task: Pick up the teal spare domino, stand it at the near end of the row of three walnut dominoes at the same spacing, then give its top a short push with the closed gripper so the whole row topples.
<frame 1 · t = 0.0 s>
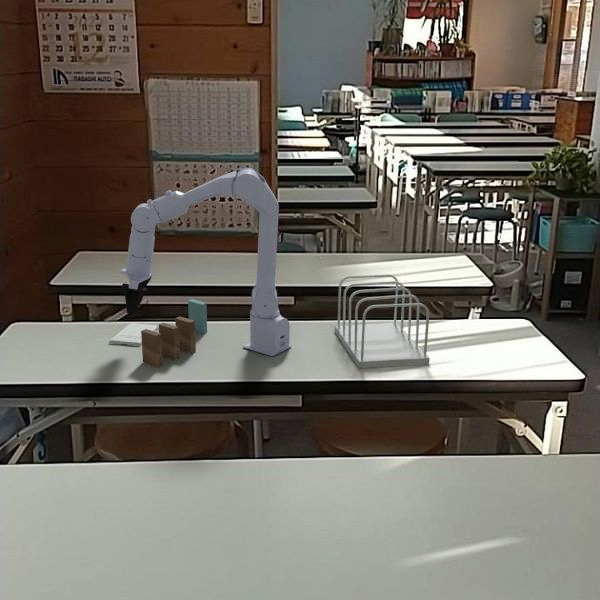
hand: (133, 308, 178), 11 cm above the table, tool pointing down, fingers open, 7 cm apart
domino b: (186, 350, 181), on the table
spare domino: (198, 330, 194), on the table
file sorter: (379, 348, 185), on the table
domino c: (169, 356, 177), on the table
domino d: (152, 364, 173), on the table
external hard drive: (134, 338, 190), on the table
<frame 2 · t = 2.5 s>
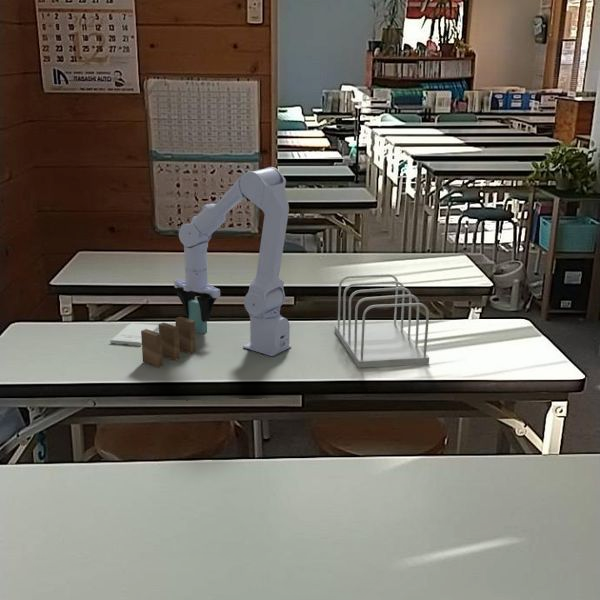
hand: (197, 318, 193), 3 cm above the table, tool pointing down, fingers closed on spare domino, 5 cm apart
spare domino: (198, 330, 194), on the table, touching gripper
everything else where it was.
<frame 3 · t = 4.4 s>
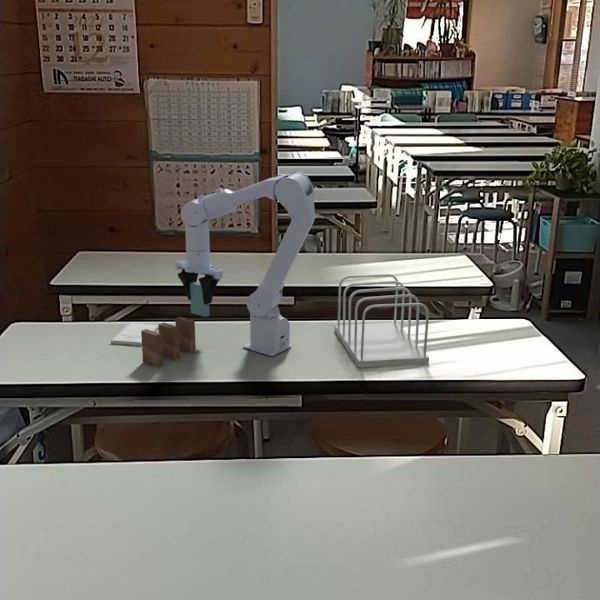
hand: (199, 301, 185), 10 cm above the table, tool pointing down, fingers closed on spare domino, 5 cm apart
spare domino: (200, 314, 186), point 7 cm above the table, touching gripper
everything else where it was.
when the fingers open (4 cm above the table, at t = 6.3 s): spare domino stays where it is, on the table.
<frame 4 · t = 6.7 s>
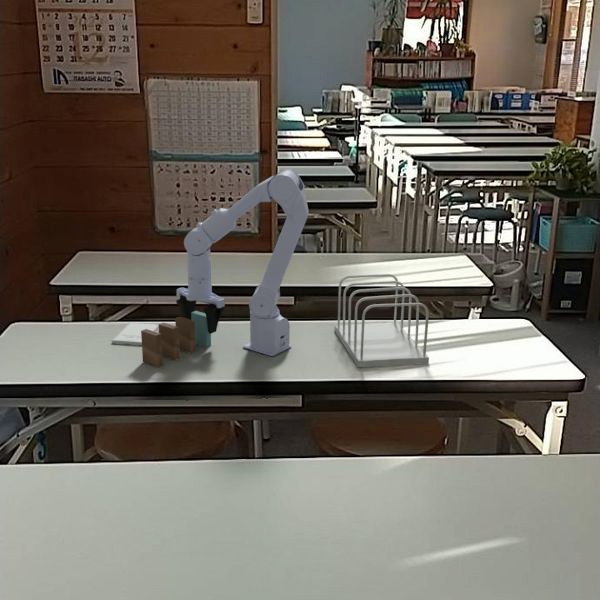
hand: (201, 328, 184), 4 cm above the table, tool pointing down, fingers open, 7 cm apart
spare domino: (201, 343, 185), on the table
everything else where it was.
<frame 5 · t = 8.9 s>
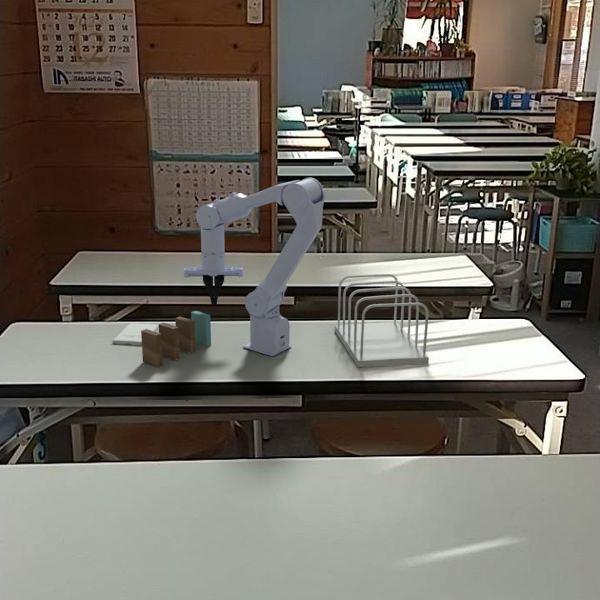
hand: (214, 303, 186), 9 cm above the table, tool pointing down, fingers closed
nothing on the table moved.
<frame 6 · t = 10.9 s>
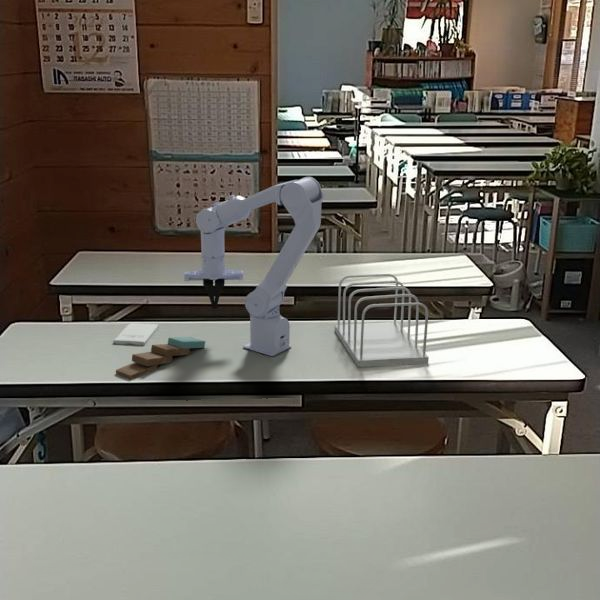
hand: (214, 307, 187), 8 cm above the table, tool pointing down, fingers closed
domino b: (182, 349, 180), point 1 cm above the table, tilted 74°, touching domino c, spare domino
spare domino: (197, 342, 184), point 1 cm above the table, tilted 74°, touching domino b
domino c: (164, 356, 175), point 1 cm above the table, tilted 77°, touching domino b, domino d
domino d: (149, 364, 172), on the table, tilted 90°, touching domino c
everything else where it was.
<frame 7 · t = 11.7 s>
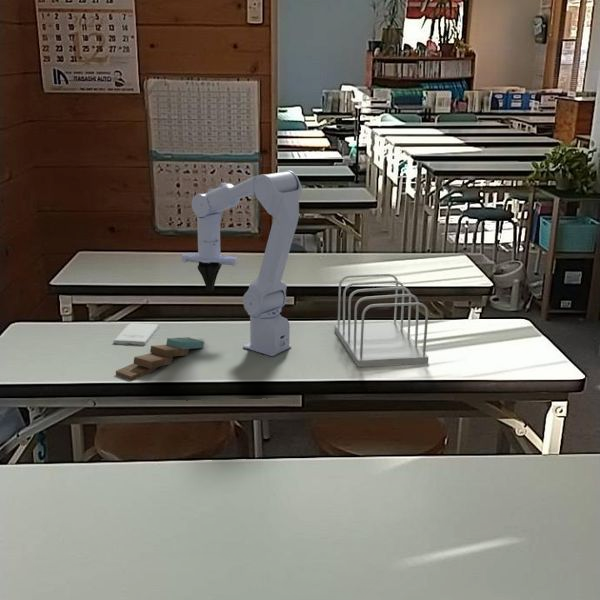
hand: (210, 290, 193), 10 cm above the table, tool pointing down, fingers closed
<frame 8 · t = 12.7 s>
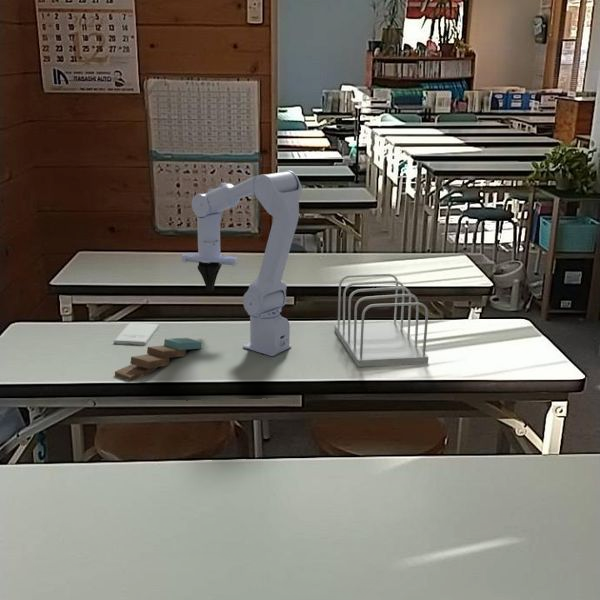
hand: (210, 290, 193), 10 cm above the table, tool pointing down, fingers closed
domino c: (160, 359, 173), point 1 cm above the table, tilted 75°, touching domino b, domino d
at the end: domino d tilted 90°; spare domino tilted 75°; spare domino inside the target area (1.6 cm from its centre), point 0.8 cm above the table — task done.
